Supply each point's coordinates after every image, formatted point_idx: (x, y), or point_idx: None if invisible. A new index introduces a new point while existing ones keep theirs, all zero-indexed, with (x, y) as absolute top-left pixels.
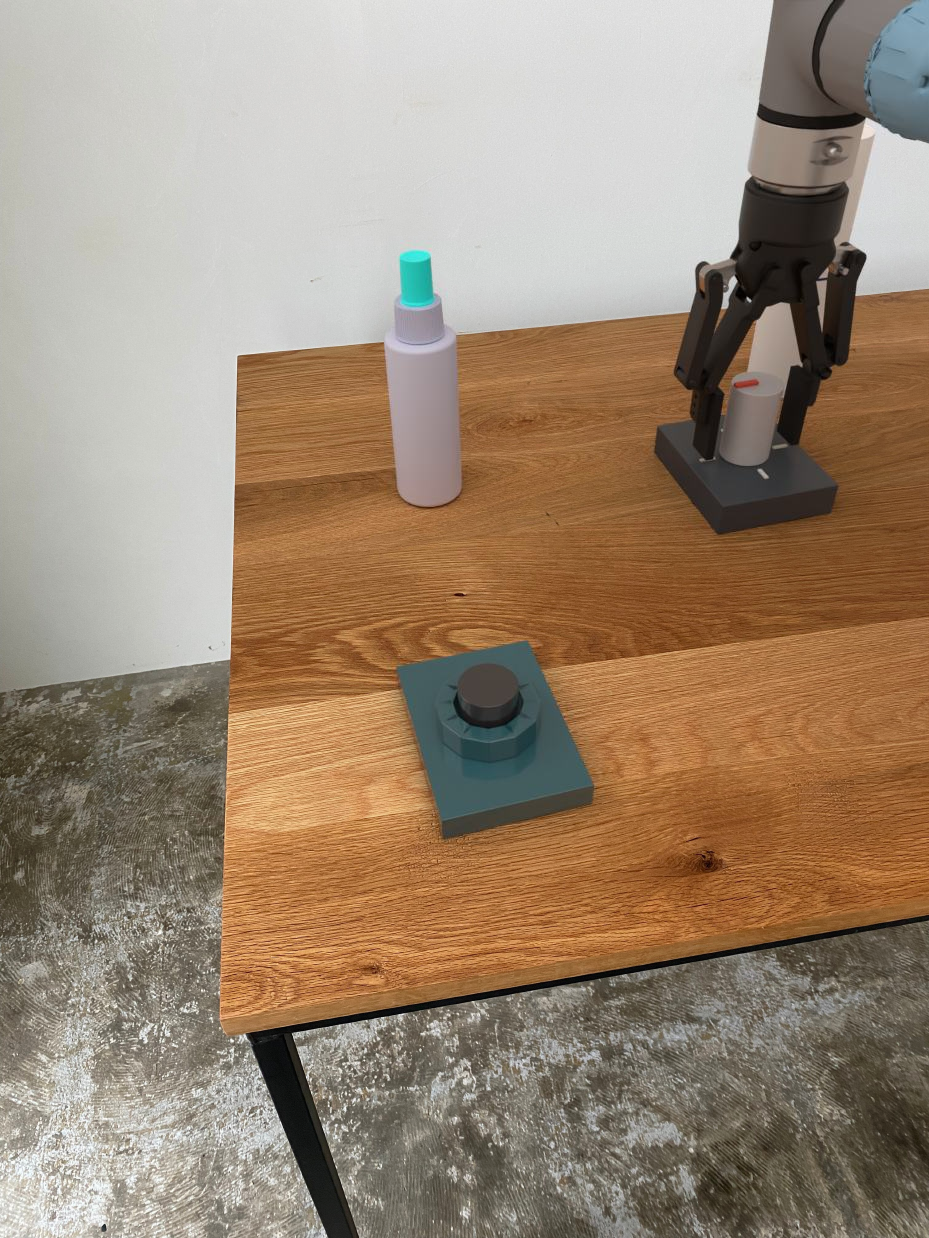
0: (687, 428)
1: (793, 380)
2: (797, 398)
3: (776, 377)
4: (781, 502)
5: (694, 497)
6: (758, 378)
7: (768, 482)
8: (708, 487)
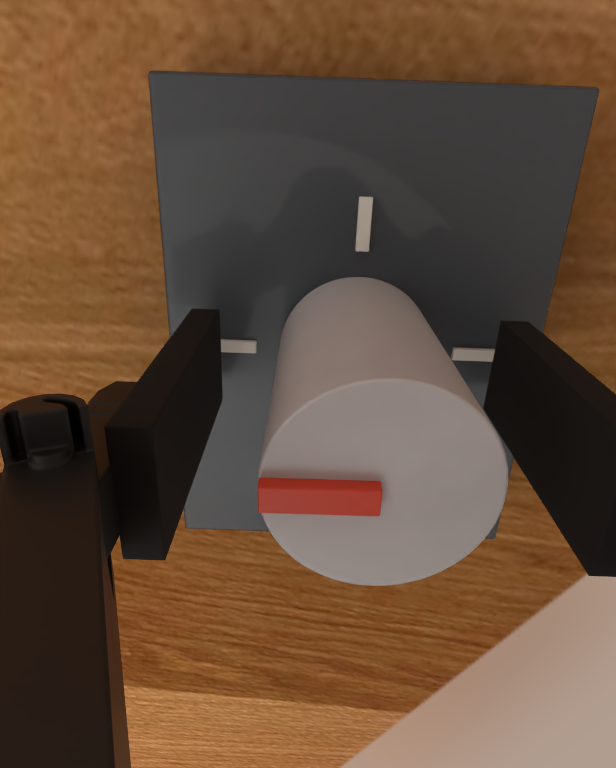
0: (251, 139)
1: (589, 461)
2: (551, 474)
3: (502, 477)
4: None
5: None
6: (415, 457)
7: None
8: None
